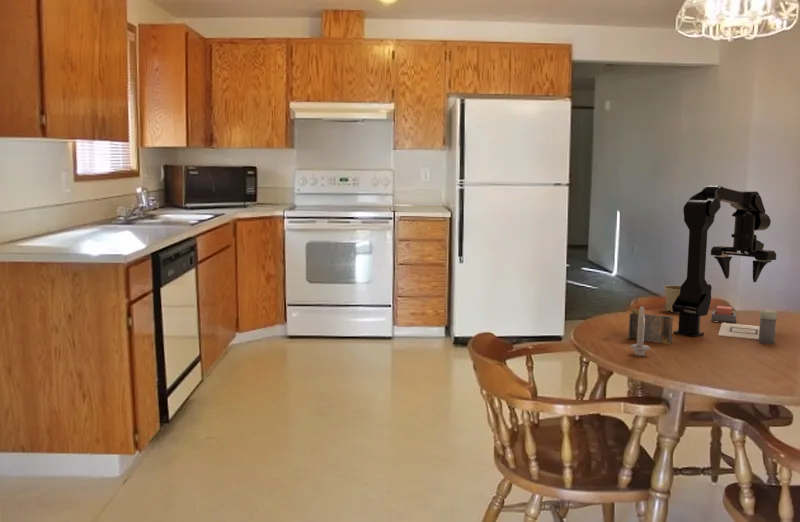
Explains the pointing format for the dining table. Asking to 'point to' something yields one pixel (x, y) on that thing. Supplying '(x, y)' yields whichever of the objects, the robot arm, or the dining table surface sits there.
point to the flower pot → (671, 295)
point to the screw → (640, 336)
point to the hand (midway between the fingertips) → (740, 280)
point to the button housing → (724, 317)
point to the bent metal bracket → (652, 327)
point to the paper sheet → (739, 331)
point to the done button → (724, 310)
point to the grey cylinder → (767, 326)
